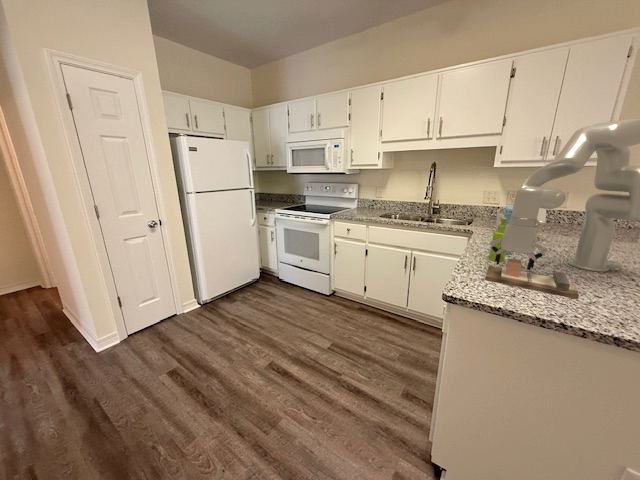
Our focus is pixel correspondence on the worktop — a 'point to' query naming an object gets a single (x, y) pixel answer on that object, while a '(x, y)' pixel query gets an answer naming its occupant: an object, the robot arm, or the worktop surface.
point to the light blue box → (508, 215)
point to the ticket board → (538, 282)
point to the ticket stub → (514, 271)
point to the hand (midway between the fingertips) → (512, 266)
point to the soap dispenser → (498, 236)
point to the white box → (540, 216)
